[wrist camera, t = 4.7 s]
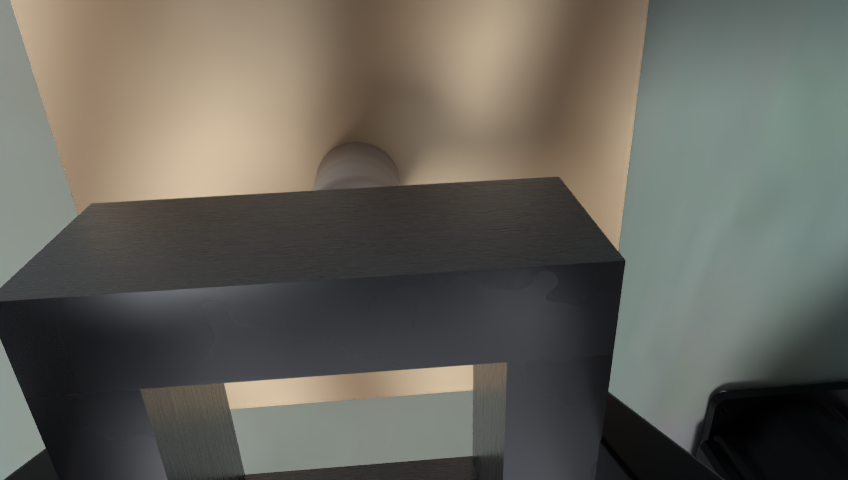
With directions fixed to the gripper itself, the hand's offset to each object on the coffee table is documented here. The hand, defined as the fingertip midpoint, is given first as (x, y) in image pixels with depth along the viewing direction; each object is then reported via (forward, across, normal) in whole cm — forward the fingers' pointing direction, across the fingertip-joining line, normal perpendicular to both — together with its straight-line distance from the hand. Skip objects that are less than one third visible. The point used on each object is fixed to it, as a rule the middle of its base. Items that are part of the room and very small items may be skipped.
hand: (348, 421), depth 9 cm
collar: (+1, 0, 0) cm, 1 cm away
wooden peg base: (+10, 0, 0) cm, 11 cm away
